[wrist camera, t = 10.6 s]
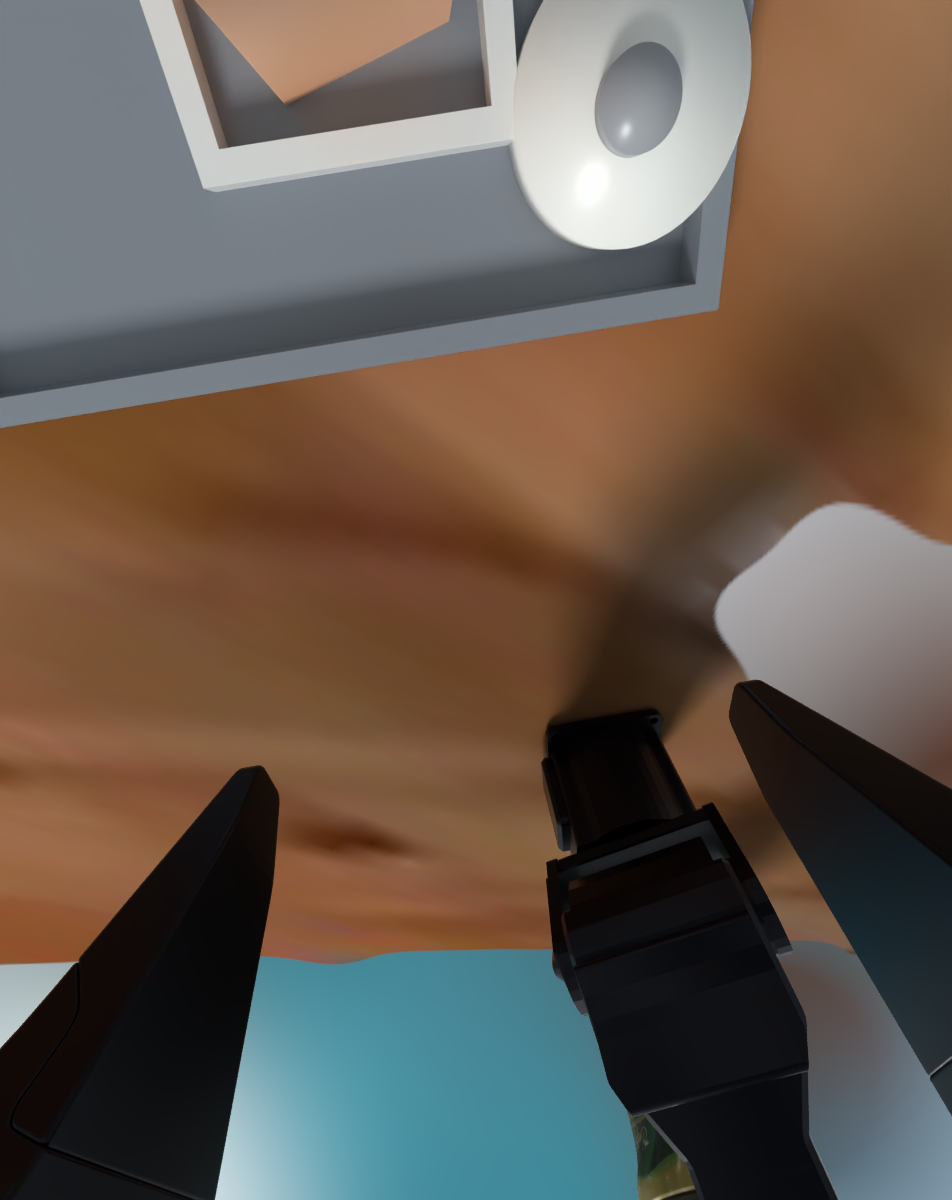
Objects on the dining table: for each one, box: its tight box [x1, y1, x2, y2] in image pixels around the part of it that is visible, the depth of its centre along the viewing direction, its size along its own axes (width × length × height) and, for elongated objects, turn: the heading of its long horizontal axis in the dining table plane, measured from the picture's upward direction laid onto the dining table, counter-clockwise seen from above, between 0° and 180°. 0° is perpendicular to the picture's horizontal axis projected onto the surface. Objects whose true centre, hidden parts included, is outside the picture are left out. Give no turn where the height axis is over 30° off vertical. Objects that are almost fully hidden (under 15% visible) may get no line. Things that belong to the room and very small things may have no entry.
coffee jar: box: [627, 1110, 699, 1200], centre depth 38 cm, size 10×8×19 cm
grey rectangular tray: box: [0, 0, 754, 428], centre depth 13 cm, size 24×14×3 cm, turn 98°
